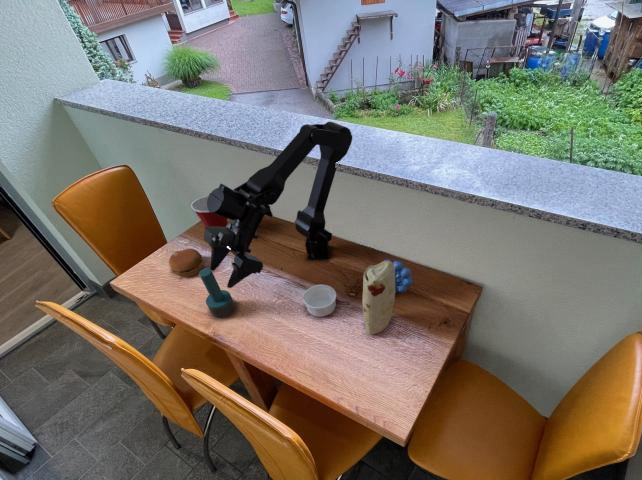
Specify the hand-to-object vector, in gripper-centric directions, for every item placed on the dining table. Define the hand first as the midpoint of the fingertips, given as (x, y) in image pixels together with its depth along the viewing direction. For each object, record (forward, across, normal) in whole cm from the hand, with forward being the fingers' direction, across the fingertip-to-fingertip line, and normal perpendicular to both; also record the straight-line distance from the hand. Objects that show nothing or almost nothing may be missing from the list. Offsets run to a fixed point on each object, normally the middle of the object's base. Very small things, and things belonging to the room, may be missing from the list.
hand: (220, 278), depth 89 cm
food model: (-10, +34, +24) cm, 43 cm away
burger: (+8, -24, +6) cm, 26 cm away
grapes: (-18, +28, +33) cm, 47 cm away
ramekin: (-5, +18, +19) cm, 27 cm away
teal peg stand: (+9, 0, +5) cm, 10 cm away
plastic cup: (-3, -33, +17) cm, 38 cm away
